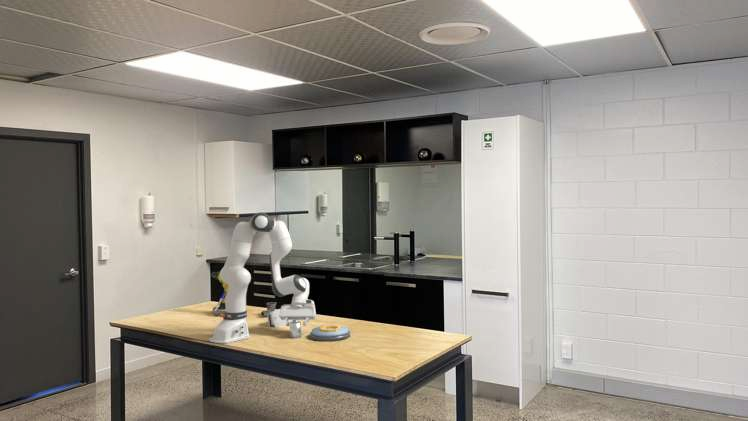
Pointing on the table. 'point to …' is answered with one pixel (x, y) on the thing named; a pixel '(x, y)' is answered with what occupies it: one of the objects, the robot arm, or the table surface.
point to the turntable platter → (329, 331)
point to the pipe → (269, 309)
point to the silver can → (295, 329)
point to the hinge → (276, 318)
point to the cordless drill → (221, 304)
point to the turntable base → (329, 338)
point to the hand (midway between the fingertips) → (296, 325)
